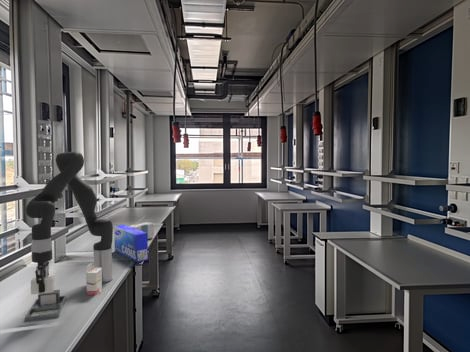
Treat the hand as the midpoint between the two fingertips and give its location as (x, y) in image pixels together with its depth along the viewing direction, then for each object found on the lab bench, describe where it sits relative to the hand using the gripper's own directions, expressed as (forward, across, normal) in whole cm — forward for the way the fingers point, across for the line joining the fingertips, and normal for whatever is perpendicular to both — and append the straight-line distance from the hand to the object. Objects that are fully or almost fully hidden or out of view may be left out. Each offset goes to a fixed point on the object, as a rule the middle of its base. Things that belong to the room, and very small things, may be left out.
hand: (43, 290), depth 147 cm
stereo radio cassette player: (+11, -135, +46) cm, 143 cm away
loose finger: (+1, 0, 0) cm, 1 cm away
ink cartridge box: (+12, -22, +18) cm, 30 cm away
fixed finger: (+10, -11, 0) cm, 15 cm away
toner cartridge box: (+11, -89, +36) cm, 97 cm away
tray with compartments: (+11, -6, 0) cm, 13 cm away
